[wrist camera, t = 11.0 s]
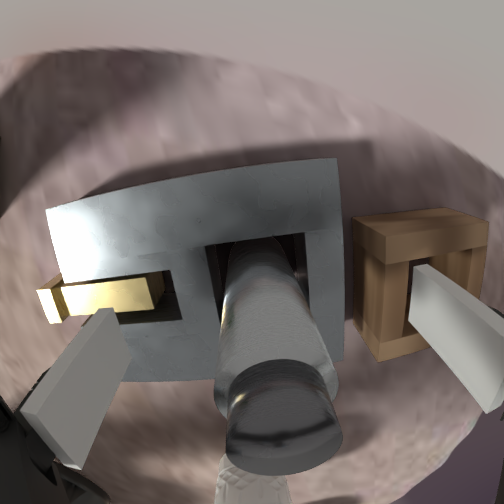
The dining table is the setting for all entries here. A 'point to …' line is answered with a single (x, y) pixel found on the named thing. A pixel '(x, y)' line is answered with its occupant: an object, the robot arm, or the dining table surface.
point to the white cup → (249, 486)
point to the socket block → (205, 253)
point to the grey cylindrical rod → (273, 368)
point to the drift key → (101, 295)
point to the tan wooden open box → (397, 268)
